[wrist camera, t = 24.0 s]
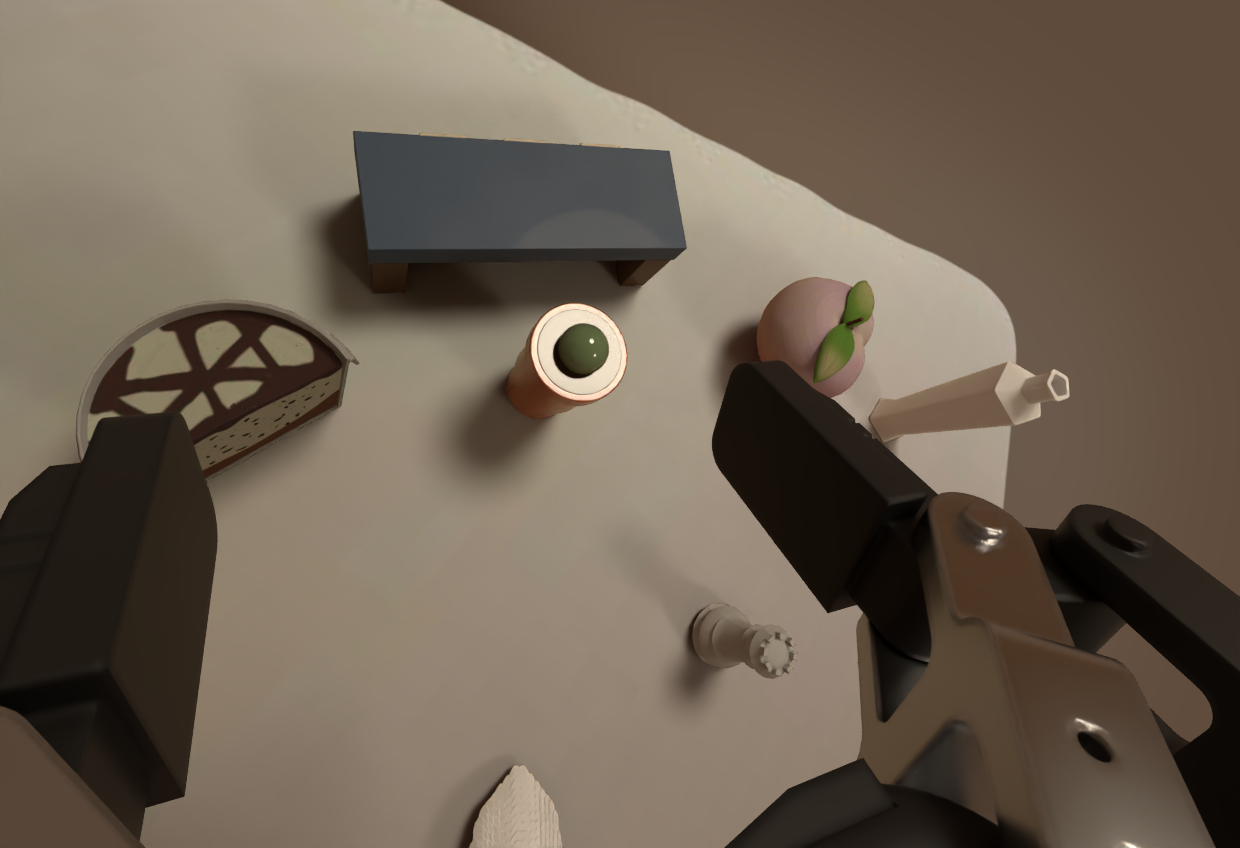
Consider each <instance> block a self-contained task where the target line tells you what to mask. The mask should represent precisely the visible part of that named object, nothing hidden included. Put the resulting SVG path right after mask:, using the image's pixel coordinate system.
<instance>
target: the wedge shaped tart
mask: <svg viewBox="0 0 1240 848" xmlns="http://www.w3.org/2000/svg"><path fill="white" fill-rule="evenodd" d="M350 362H353V363H355V364H356V365H358V364H359V362H358V360H357V359H356V358H355V357H354V356H353V354H352V353H351V352H350V351H349V350H348V349H347V348H346V347H345V346H344V345H343V344H342V343H341V342H340V341H339V340H337V339H336V338H335V337H334V336H333V335H331V334H330V333H328V332H327V331H325V330H324V329H322V328H321V327H319V326H318V325H316V324H315V323H313V322H312V321H310V320H308V319H306V318H304V317H302V316H300V315H298V314H296V313H294V312H292V311H289V310H285V309H282V308H279V307H276V306H273V305H269V304H264V303H258V302H253V301H242V300H217V301H204V302H199V303H195V304H190V305H185V306H181V307H178V308H175V309H173V310H170V311H167V312H164V313H162V314H159V315H157V316H155V317H153V318H151V319H149V320H148V321H146V322H144V323H142V324H140V325H138V326H137V327H136V328H134V329H133V330H131V331H130V332H129V333H127V334H126V335H125V336H123V337H122V338H121V339H119V341H118V342H117V343H116V344H115V345H114V346H113V347H112V348H111V349H110V350H109V351H108V352H107V353H106V354H105V355H104V356H103V357H102V359H101V360H100V362H99V363H98V365H97V366H96V367H95V369H94V370H93V372H92V373H91V375H90V377H89V380H88V382H87V384H86V386H85V388H84V390H83V393H82V396H81V400H80V404H79V408H78V412H77V422H76V441H77V447H78V453H79V459H80V461H81V462H82V460H83V457H84V455H85V452H86V450H87V447H88V445H89V442H90V440H91V437H92V435H93V432H94V430H95V427H96V425H97V423H98V421H99V420H100V419H102V418H104V417H116V416H127V415H139V414H150V413H162V412H173V411H178V412H180V413H181V414H182V416H183V417H184V419H185V421H186V423H187V426H188V429H189V432H190V435H191V438H192V441H193V444H194V447H195V450H196V453H197V456H198V459H199V462H200V465H201V468H202V471H203V474H204V477H205V480H206V481H208V480H210V479H211V478H213V477H215V476H217V475H219V474H220V473H222V472H224V471H226V470H227V469H229V468H231V467H233V466H235V465H236V464H238V463H240V462H242V461H243V460H245V459H247V458H249V457H251V456H252V455H254V454H256V453H258V452H259V451H261V450H263V449H265V448H267V447H268V446H270V445H272V444H274V443H275V442H277V441H279V440H281V439H282V438H284V437H286V436H288V435H290V434H291V433H293V432H295V431H297V430H298V429H300V428H302V427H304V426H306V425H307V424H309V423H311V422H313V421H314V420H316V419H318V418H320V417H322V416H323V415H325V414H327V413H329V412H330V411H332V410H334V409H336V408H338V407H339V406H341V404H342V398H343V393H344V388H345V382H346V377H347V372H348V366H349V363H350Z"/></svg>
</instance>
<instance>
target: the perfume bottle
mask: <svg viewBox="0 0 1240 848" xmlns="http://www.w3.org/2000/svg"><path fill="white" fill-rule="evenodd" d="M1068 397H1069V384H1068V378H1067V377H1066V376H1065V375H1063V374H1062V373H1060V372H1059V371H1057V370H1055V369H1054V370H1052V371H1051V373H1047V374H1042V375H1038V376H1035V375H1033V374H1032V373H1030V372H1028V371H1026V370H1025V369H1023V368H1021V367H1020V366H1018V365H1016V364H1015V363H1013V362H1011V361H1009V362H1006V363H1003V364H1000V365H997V366H994V367H991V368H988V369H985V370H982V371H979V372H976V373H973V374H970V375H967V376H964V377H962V378H959V379H956V380H953V381H950V382H947V383H944V384H941V385H938V386H935V387H932V388H929V389H926V390H923V391H920V392H917V393H914V394H911V395H908V396H906V397H903V398H900V399H897V400H895V399H880V400H879V402H878V404H877V406H876V407H875V409H874V411H873V413H872V414H871V416H870V421H871V423H872V424H873V426H874V428H875V429H876V431H877V433H878V434H879V436H880V438H881V440H882V441H883V442H886V441H889V440H892V439H895V438H898V437H901V436H903V435H907V434H919V433H930V432H941V431H953V430H964V429H976V428H987V427H998V426H1010V425H1018V424H1021V423H1024V422H1027V421H1029V420H1032V419H1035V418H1038V417H1040V415H1041V410H1040V402H1046V401H1051V400H1056V401H1061V400H1064V399H1067V398H1068Z"/></svg>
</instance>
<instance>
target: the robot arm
mask: <svg viewBox="0 0 1240 848" xmlns="http://www.w3.org/2000/svg"><path fill="white" fill-rule="evenodd" d="M712 451H713V456H714V459H715V462H716V464H717V466H718V468H719V470H720V471H721V472H722V474H723V475H724V476H725V478H726V479H727V480H728V482H729V483H730V484H731V486H732V487H733V488H734V490H735V491H736V492H737V494H738V495H739V496H740V497H741V499H742V500H743V501H744V503H745V504H746V505H747V507H748V508H749V509H750V511H751V512H752V513H753V515H754V516H755V517H756V519H757V520H758V521H759V523H760V524H761V525H762V527H763V528H764V529H765V531H766V532H767V533H768V535H769V536H770V537H771V539H772V540H773V541H774V543H775V544H776V545H777V547H778V548H779V549H780V550H781V552H782V553H783V554H784V556H785V557H786V558H787V560H788V561H789V562H790V564H791V565H792V566H793V568H794V569H795V570H796V572H797V573H798V574H799V576H800V577H801V578H802V580H803V581H804V582H805V584H806V585H807V586H808V588H809V589H810V590H811V592H812V593H813V594H814V596H815V597H816V598H817V599H818V601H819V602H820V603H821V605H822V606H823V607H824V609H825V610H826V611H827V613H830V612H833V611H837V610H840V609H844V608H847V607H851V606H854V605H858V607H859V608H860V609H861V610H862V611H863V614H862V616H861V617H860V619H859V621H858V623H857V629H856V634H857V651H858V668H859V685H860V702H861V719H862V741H861V747H860V752H859V755H858V758H857V760H856V761H854V762H852V763H849V764H847V765H844V766H842V767H840V768H837V769H835V770H832V771H830V772H828V773H825V774H823V775H820V776H818V777H815V778H813V779H811V780H808V781H806V782H803V783H801V784H799V785H796V786H794V787H791V788H789V789H787V790H786V791H785V792H784V793H783V794H782V795H781V796H780V797H779V798H778V799H777V800H776V801H774V802H773V803H772V804H771V805H770V806H769V807H768V808H767V809H766V810H765V811H764V812H763V813H761V814H760V815H759V816H758V817H757V818H756V819H755V820H754V821H753V822H752V823H751V824H750V825H748V826H747V827H746V828H745V829H744V830H743V831H742V832H741V833H740V834H739V835H738V836H737V837H735V838H734V839H733V840H732V841H731V842H730V843H729V844H728V845H727V846H726V847H725V848H1240V597H1239V596H1238V595H1237V594H1235V593H1234V592H1233V591H1231V590H1230V589H1229V588H1227V587H1226V586H1225V585H1223V584H1222V583H1221V582H1220V581H1218V580H1217V579H1216V578H1214V577H1213V576H1211V575H1210V574H1209V573H1208V572H1206V571H1205V570H1204V569H1203V568H1201V567H1200V566H1199V565H1197V564H1196V563H1195V562H1193V561H1192V560H1191V559H1189V558H1188V557H1187V556H1185V555H1184V554H1183V553H1181V552H1180V551H1179V550H1178V549H1176V548H1175V547H1174V546H1172V545H1171V544H1170V543H1168V542H1167V541H1166V540H1164V539H1163V538H1162V537H1160V536H1159V535H1158V534H1157V533H1155V532H1154V531H1152V530H1151V529H1149V528H1148V527H1147V526H1145V525H1144V524H1142V523H1140V522H1138V521H1137V520H1135V519H1133V518H1131V517H1129V516H1127V515H1125V514H1123V513H1121V512H1118V511H1115V510H1113V509H1110V508H1106V507H1102V506H1097V505H1088V504H1086V505H1079V506H1076V507H1075V508H1073V509H1072V510H1071V512H1070V513H1069V514H1068V515H1067V516H1066V518H1065V519H1064V520H1063V521H1062V523H1061V524H1060V525H1059V527H1058V528H1057V529H1056V530H1049V529H1038V528H1026V527H1023V526H1022V525H1021V524H1020V523H1019V522H1018V521H1017V520H1016V519H1015V518H1014V517H1013V516H1011V515H1010V514H1009V513H1007V512H1006V511H1004V510H1003V509H1001V508H1000V507H998V506H996V505H994V504H992V503H990V502H988V501H986V500H984V499H981V498H979V497H976V496H973V495H969V494H964V493H958V492H947V493H941V494H939V495H938V494H937V493H936V492H935V491H934V490H932V489H931V488H930V487H929V486H928V485H927V484H926V483H925V482H924V481H923V480H921V479H920V478H919V477H918V476H917V475H916V474H915V473H914V472H913V471H912V470H910V469H909V468H908V467H907V466H906V465H905V464H904V463H903V462H902V461H901V460H899V459H898V458H897V457H896V456H895V455H894V454H893V453H892V452H891V451H890V450H888V449H887V448H886V447H885V446H884V445H883V444H882V443H881V442H880V441H879V440H877V439H872V434H871V433H870V432H869V431H868V430H866V429H865V428H864V427H863V426H862V425H861V424H860V423H855V419H854V418H853V417H852V416H851V415H850V414H849V413H848V412H847V411H846V410H844V409H843V408H842V407H841V406H840V405H839V404H838V403H837V402H836V401H835V400H833V399H831V398H829V397H827V396H826V395H824V394H822V393H820V392H819V391H817V390H815V389H814V388H812V387H811V386H810V385H809V384H808V383H807V382H806V381H805V380H804V379H803V378H802V377H801V376H799V375H798V374H797V373H796V372H795V371H794V370H793V369H792V368H791V367H790V366H789V365H788V364H786V363H785V362H783V361H781V360H772V361H761V362H749V363H740V364H738V365H737V366H736V367H735V368H734V369H733V371H732V373H731V375H730V378H729V381H728V385H727V388H726V391H725V395H724V398H723V402H722V405H721V408H720V412H719V415H718V418H717V422H716V425H715V429H714V432H713V436H712ZM216 554H217V523H216V515H215V510H214V505H213V502H212V498H211V495H210V492H209V489H208V486H207V483H206V480H205V477H204V474H203V471H202V468H201V465H200V462H199V459H198V456H197V453H196V450H195V447H194V444H193V441H192V438H191V435H190V432H189V429H188V426H187V423H186V421H185V419H184V417H183V416H182V414H181V413H180V412H178V411H173V412H162V413H150V414H139V415H127V416H116V417H104V418H102V419H100V420H99V421H98V423H97V425H96V427H95V430H94V432H93V435H92V437H91V440H90V442H89V445H88V447H87V450H86V452H85V455H84V457H83V460H82V462H81V463H74V464H65V465H56V466H49V467H48V468H47V469H46V470H44V471H43V472H42V473H41V474H40V475H39V476H38V477H36V478H35V479H34V480H33V481H32V482H31V483H29V484H28V485H27V486H26V487H25V488H24V489H23V490H21V491H20V492H19V493H18V494H17V495H16V496H14V497H13V498H12V499H11V500H10V501H9V503H8V505H7V507H6V509H5V511H4V513H3V515H2V517H1V519H0V848H145V847H144V846H143V845H142V844H141V843H140V842H139V841H140V836H141V830H142V824H143V818H144V813H145V808H146V807H150V806H153V805H157V804H160V803H164V802H167V801H171V800H174V799H178V798H181V797H184V796H185V789H186V781H187V773H188V766H189V758H190V751H191V743H192V736H193V728H194V720H195V713H196V705H197V698H198V690H199V682H200V675H201V667H202V660H203V652H204V645H205V637H206V629H207V622H208V614H209V607H210V599H211V591H212V584H213V576H214V569H215V561H216ZM1126 623H1128V625H1130V626H1131V627H1132V628H1133V629H1134V630H1135V631H1136V632H1137V633H1138V634H1140V635H1141V636H1142V637H1143V638H1144V639H1145V640H1146V641H1147V642H1148V643H1150V644H1151V645H1152V646H1153V647H1154V648H1155V649H1156V650H1157V651H1158V652H1159V653H1160V654H1162V655H1163V656H1164V657H1165V658H1166V659H1167V660H1168V661H1169V662H1170V663H1172V664H1173V665H1174V666H1175V667H1176V668H1177V669H1178V670H1179V671H1180V672H1181V673H1183V674H1184V675H1185V676H1186V677H1187V678H1188V679H1189V680H1190V681H1191V682H1193V683H1194V684H1195V685H1196V686H1197V687H1198V688H1199V689H1200V690H1201V691H1202V692H1203V694H1204V695H1205V696H1206V698H1207V700H1208V701H1209V703H1210V706H1211V708H1212V713H1213V720H1212V724H1211V726H1210V728H1209V729H1208V730H1206V731H1205V732H1204V733H1202V734H1201V735H1200V736H1198V737H1197V738H1196V739H1194V740H1193V741H1192V742H1188V741H1186V740H1185V739H1183V738H1182V737H1180V736H1179V735H1177V734H1176V733H1175V732H1174V731H1173V730H1172V729H1171V728H1170V727H1169V726H1168V725H1167V724H1166V723H1165V722H1164V721H1163V720H1162V719H1161V718H1160V717H1159V716H1158V715H1157V714H1156V713H1155V712H1154V711H1153V710H1152V709H1151V708H1150V707H1149V706H1148V704H1147V702H1146V700H1145V697H1144V695H1143V693H1142V691H1141V689H1140V687H1139V685H1138V683H1137V681H1136V679H1135V677H1134V676H1133V674H1132V673H1131V672H1130V670H1129V669H1128V668H1127V667H1126V666H1125V665H1124V664H1123V663H1121V662H1119V661H1118V660H1116V659H1113V658H1110V657H1107V656H1103V655H1100V654H1097V653H1096V652H1097V651H1098V650H1099V649H1100V648H1101V647H1102V646H1103V645H1104V644H1105V643H1106V642H1107V641H1108V640H1109V639H1110V638H1111V637H1112V636H1113V635H1114V634H1115V633H1117V632H1118V631H1119V630H1120V628H1121V627H1123V626H1124V625H1125V624H1126Z"/></svg>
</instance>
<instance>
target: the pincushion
mask: <svg viewBox="0 0 1240 848" xmlns="http://www.w3.org/2000/svg"><path fill="white" fill-rule="evenodd" d="M469 848H563V847H562V843H561V833H560V831H559V820H558V814H557V812H556V810H554V804H553V801H552V799H550V798H549V796H548V794H546V793H545V791H544V789H543V788H541V786H540V784H539V783H538V781H535V779H534V777H533V775H532V774H531V773H530V774H529V772H528V770H527V768H526V767H525V765H521V766H520V767H518V766H513V768H512V770H511V772H510V775H507V776H506V778H505V779H504V781H503V784H501V783H500V784H499V786H498V787H497V789H496V792H494V793H493V795H492V796H491V798H490V799H488V801H487V802H486V804H485V805H484V806H483V807H482V809H481V810H480V813H479V818H478V819H477V821H476V822H475V825H474V829H473V841H472V842H471V843H470V846H469Z"/></svg>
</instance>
